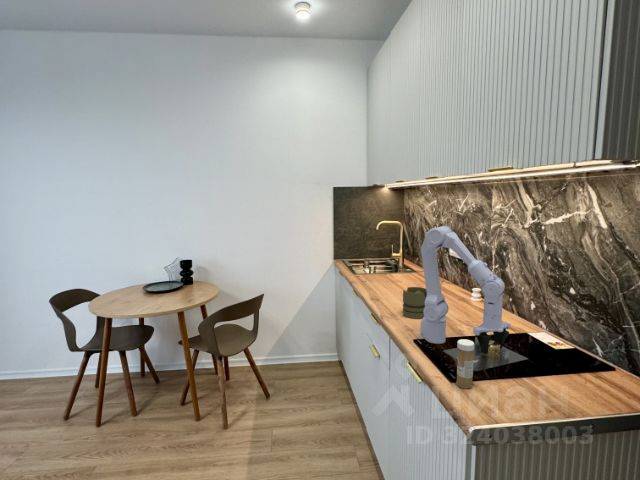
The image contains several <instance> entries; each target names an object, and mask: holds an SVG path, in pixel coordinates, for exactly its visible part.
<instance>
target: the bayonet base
mask: <svg viewBox="0 0 640 480" xmlns="http://www.w3.org/2000/svg"><path fill="white" fill-rule="evenodd" d="M442 352H444V353H445V354H447V355H449V356H451V357H452V358H453V359H455V360H458V347H455V348H450V349H444V350H442ZM497 354H499V355H501V359H499V358H497V357H491V356H487V355H485V354H483V353H482V352H481V349H480V344H479V341H478V339H477V337H476V336H475V337H474V351H473V371H476V372H479V371H483V370H488V369H490V368H495V367H500V366H504V365H507V364H512V363H517V362H520V361H525V360H529V358H528V357H526V356H524V355H521V354H520V353H517V352H515V351H513V350H511V349H508V348H507V347H504V345H503V346H502V349H501V351H500V352H498V353H497Z"/></svg>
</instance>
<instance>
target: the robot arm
mask: <svg viewBox="0 0 640 480" xmlns="http://www.w3.org/2000/svg"><path fill="white" fill-rule="evenodd" d="M441 247H443V248H447V249H451V250H452V251H453V252H454V253H455V254H456V255H457V256H458V257H459V258H460V259H461V260H462V261H463V262H464V263H465V264H466V265H467V271H468V273H469V274H470V275H471V276H472V278H473V279H474V280H475V281H476V282H477V283H478V284H479V286H481V291H482V294H483V295H484V299H483V314H482V315H483V316H482V317H483V318H482V324H480V325H478V326H476V327H473V328H472V334H473V335H475V337H477V339H478V341H479V344H480V348H481V352H482V353H484V354H487V353H488V345H489V341H490V340H492V336H491V335H489V333H491V332H492V334H493V339H494V340H493V341H496V342H498V343H500V351H501V349H502V346H503V347H504V343H505V340H506V339H507V337H509V335H510V331H508V330H510V329H511V323H509V322H507V321H502V320H503V292H504V291H505V288H506V284H505V282H504V281H503V279H502V278H500V277H498V275H497V274H494V273H493V272H492V270H491V269H490V268H488V263H487V262H483V261H482V260H479V259H476V258H475V256H473V254H472V253H471V252H470V250H469V249H468V248H467V246H466V245H464V243H463V241H461V239H460V238H459V236H458V235H457V233H456V232H454V231H453V230H452V228H451V227H449V226H448V225H441V226H438V227H433V228H430V229H429V230H428V231H427V232H426V233H425V234H424V240H423V242H422V245H421V247H420V252H421V261H422V268H423V276H424V277H423V278H424V282H425V289H426V291H427V297H426V299H425V308H424V311H423V313H424V316H425V317H423V318H422V319H420V331H419V332H420V336H418V339H419V340H422V339H425V340H426V341H427V342H428V343H431V344H435V345H436V344H439V345H440V344H444V343H445V342H446V340H447V339H446V336H447V335H446V334H447V332H446V331H447V317H446V315H447V314H448V312H449V308H450V307H449V304H448V303H447V302H446V297H445V295H444V294H443V293H442V285H441V279H440V273H439V272H440V270H439V264H438V258H437V257H438V256H437V251H439V250H440V249H441Z"/></svg>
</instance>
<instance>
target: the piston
mask: <svg viewBox="0 0 640 480" xmlns="http://www.w3.org/2000/svg"><path fill="white" fill-rule="evenodd" d="M426 297H427V291H426V287H425V288H424V287H419V286H407V288H406V290H404V289H403V290H402V316H403V317H404V318H406V319H411V320H422V318H423V317H425V316H424V313H423V311H424V308H425V299H426Z"/></svg>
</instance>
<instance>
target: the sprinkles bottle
mask: <svg viewBox="0 0 640 480" xmlns="http://www.w3.org/2000/svg"><path fill="white" fill-rule="evenodd" d="M456 343H457V344H456V346H457V347H456V348H458V360H457V359H456V360H457V363H456V365H457V367H456V385H457V386H458V387H459V388H462V389H472V388H473V385H474V384H473V377H474V376H473V374H474V370H473V351H474V344H475V341H473V340H470V339H465V338H464V339H458V340H457V342H456Z"/></svg>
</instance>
